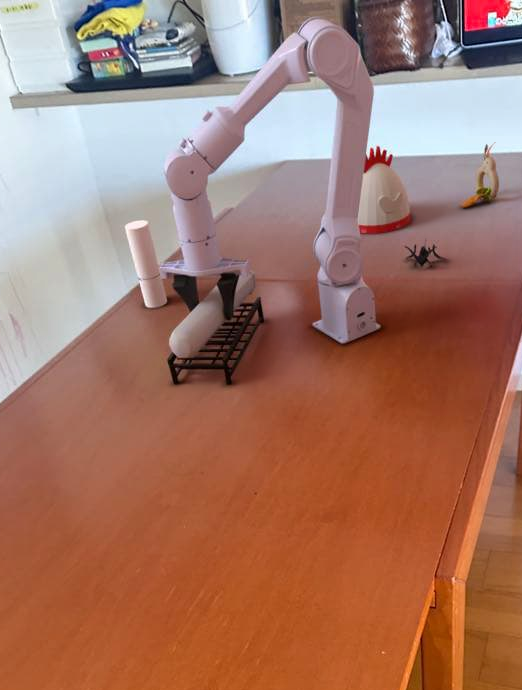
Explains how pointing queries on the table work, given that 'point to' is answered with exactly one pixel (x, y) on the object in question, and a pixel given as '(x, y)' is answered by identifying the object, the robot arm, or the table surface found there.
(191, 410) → the table surface
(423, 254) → the creature
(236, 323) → the shoe rack
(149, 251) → the tube
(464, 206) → the rattle
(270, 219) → the table surface
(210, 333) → the tube
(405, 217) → the kitchen timer
